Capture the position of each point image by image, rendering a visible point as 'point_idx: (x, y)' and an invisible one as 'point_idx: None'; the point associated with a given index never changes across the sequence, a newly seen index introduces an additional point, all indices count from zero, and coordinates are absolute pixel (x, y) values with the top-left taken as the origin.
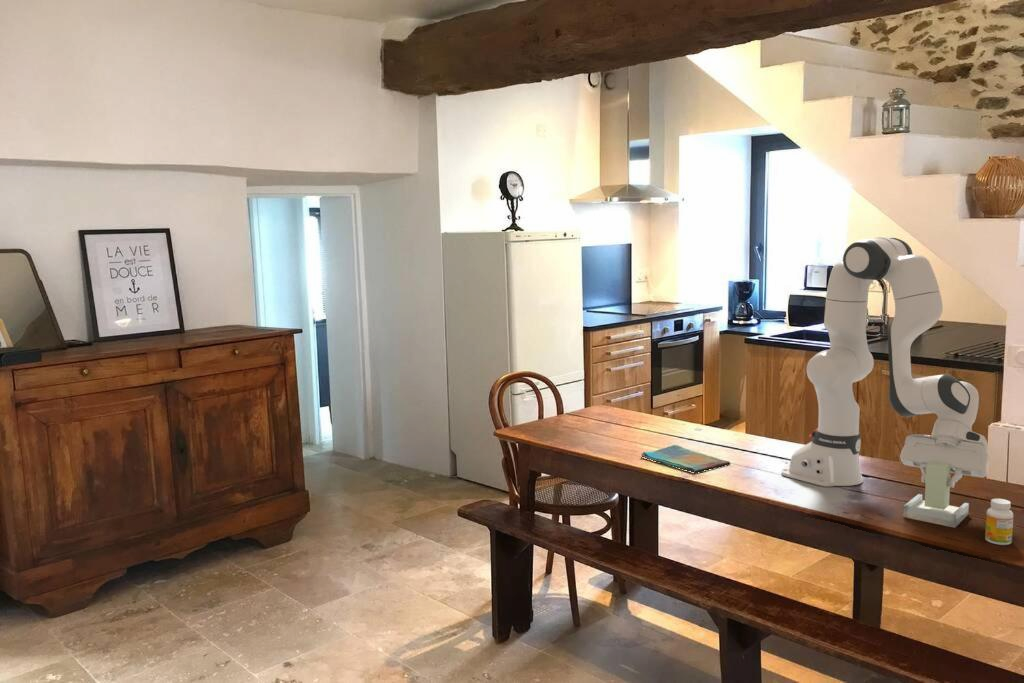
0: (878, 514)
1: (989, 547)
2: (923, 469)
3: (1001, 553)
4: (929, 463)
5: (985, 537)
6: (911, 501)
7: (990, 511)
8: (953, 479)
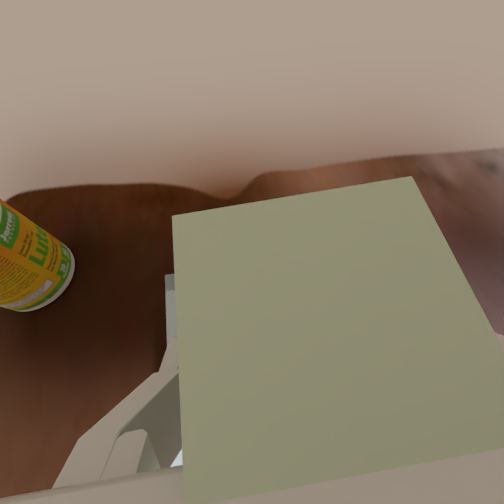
0: None
1: (59, 211)
2: None
3: (28, 195)
4: (410, 225)
5: (70, 253)
6: None
7: None
8: (163, 363)
